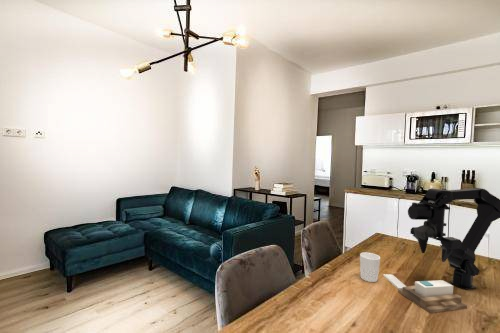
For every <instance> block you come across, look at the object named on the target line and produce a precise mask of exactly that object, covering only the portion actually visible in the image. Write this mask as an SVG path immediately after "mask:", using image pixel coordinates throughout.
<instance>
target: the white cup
mask: <svg viewBox="0 0 500 333" xmlns="http://www.w3.org/2000/svg"><path fill="white" fill-rule="evenodd" d="M380 262H381V256H380V255H378V254H375V253H374V252H373V253H372V252H366V251H365V252H361V253H359V271H360V272H359V273H360V279H361V280H362V281H363V280H364V281H365V282H369V283H375V282H377V281H378V277H379V273H380V264H381V263H380Z"/></svg>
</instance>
